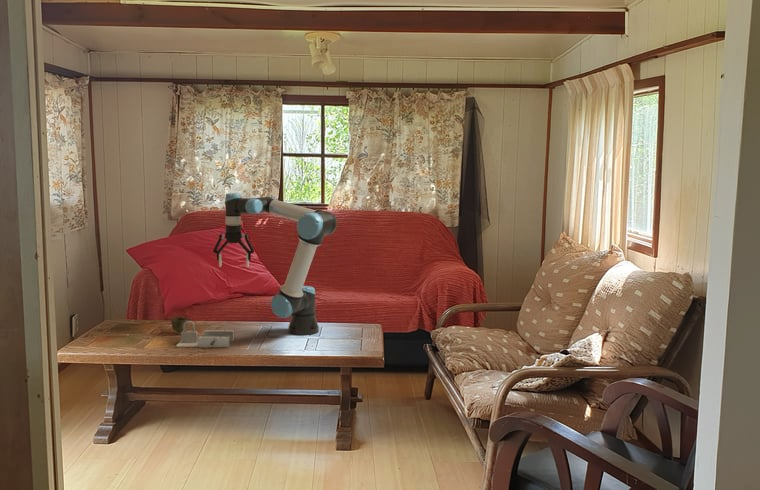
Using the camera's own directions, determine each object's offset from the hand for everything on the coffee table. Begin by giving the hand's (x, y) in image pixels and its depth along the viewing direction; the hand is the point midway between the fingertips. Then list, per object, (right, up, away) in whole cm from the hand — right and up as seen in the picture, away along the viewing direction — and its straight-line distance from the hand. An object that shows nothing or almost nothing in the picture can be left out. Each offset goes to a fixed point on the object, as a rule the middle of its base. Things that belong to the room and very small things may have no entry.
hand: (234, 266), depth 344 cm
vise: (-3, -35, -24) cm, 43 cm away
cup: (-25, -33, -7) cm, 42 cm away
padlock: (-16, -35, -23) cm, 44 cm away
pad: (-16, -35, -23) cm, 45 cm away
